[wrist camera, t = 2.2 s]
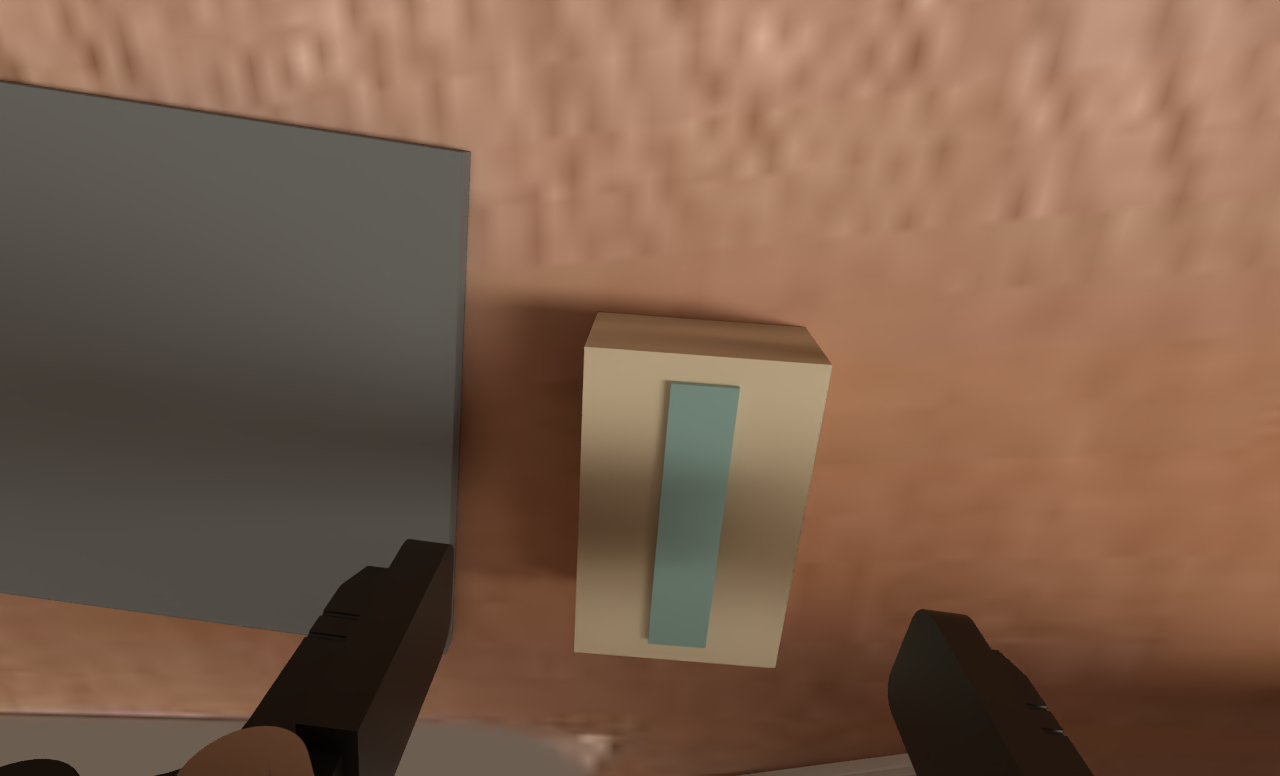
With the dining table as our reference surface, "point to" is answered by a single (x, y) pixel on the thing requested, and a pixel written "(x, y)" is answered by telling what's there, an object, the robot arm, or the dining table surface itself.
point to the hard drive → (852, 768)
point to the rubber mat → (221, 356)
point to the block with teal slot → (693, 485)
